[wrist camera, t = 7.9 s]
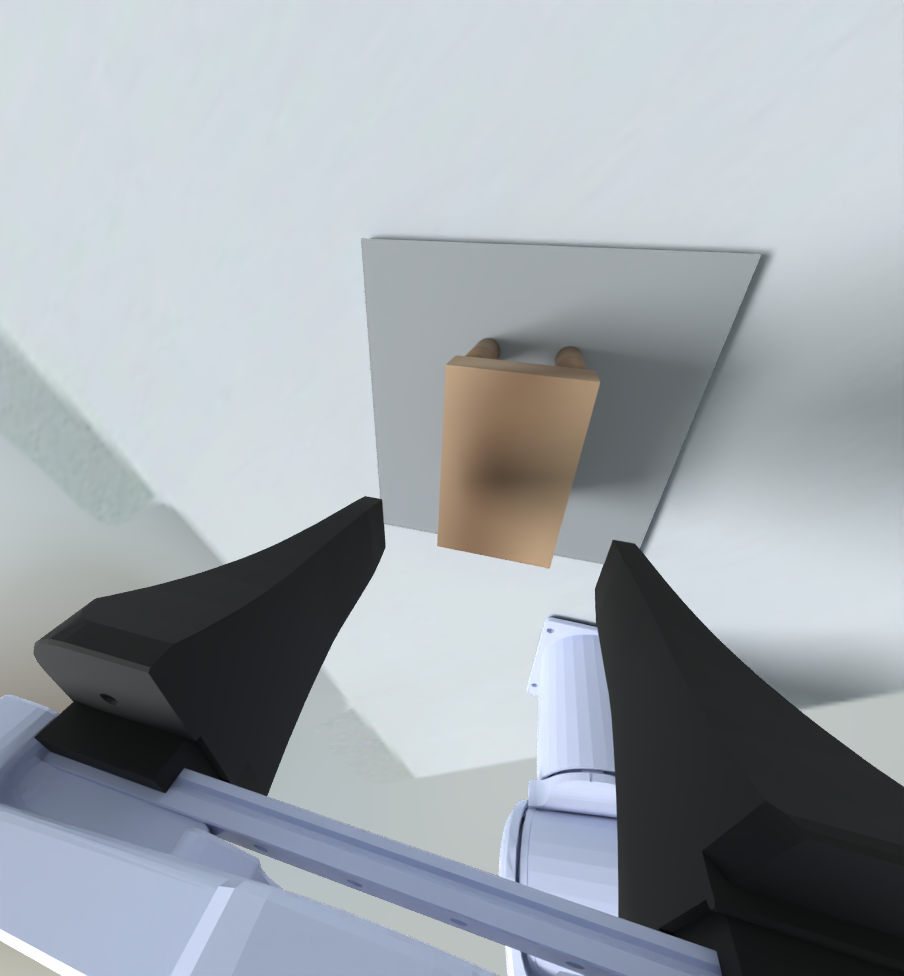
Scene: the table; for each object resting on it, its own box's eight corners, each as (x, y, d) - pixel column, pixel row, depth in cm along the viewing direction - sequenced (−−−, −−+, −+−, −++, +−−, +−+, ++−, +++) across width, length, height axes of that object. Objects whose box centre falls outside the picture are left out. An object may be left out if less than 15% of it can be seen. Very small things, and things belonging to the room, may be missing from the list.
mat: (629, 562, 22) (631, 569, 22) (385, 518, 25) (381, 523, 25) (754, 254, 14) (761, 253, 13) (366, 239, 17) (360, 238, 16)
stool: (585, 347, 16) (600, 382, 11) (549, 495, 21) (549, 568, 16) (476, 336, 17) (446, 364, 12) (464, 481, 21) (437, 546, 16)
